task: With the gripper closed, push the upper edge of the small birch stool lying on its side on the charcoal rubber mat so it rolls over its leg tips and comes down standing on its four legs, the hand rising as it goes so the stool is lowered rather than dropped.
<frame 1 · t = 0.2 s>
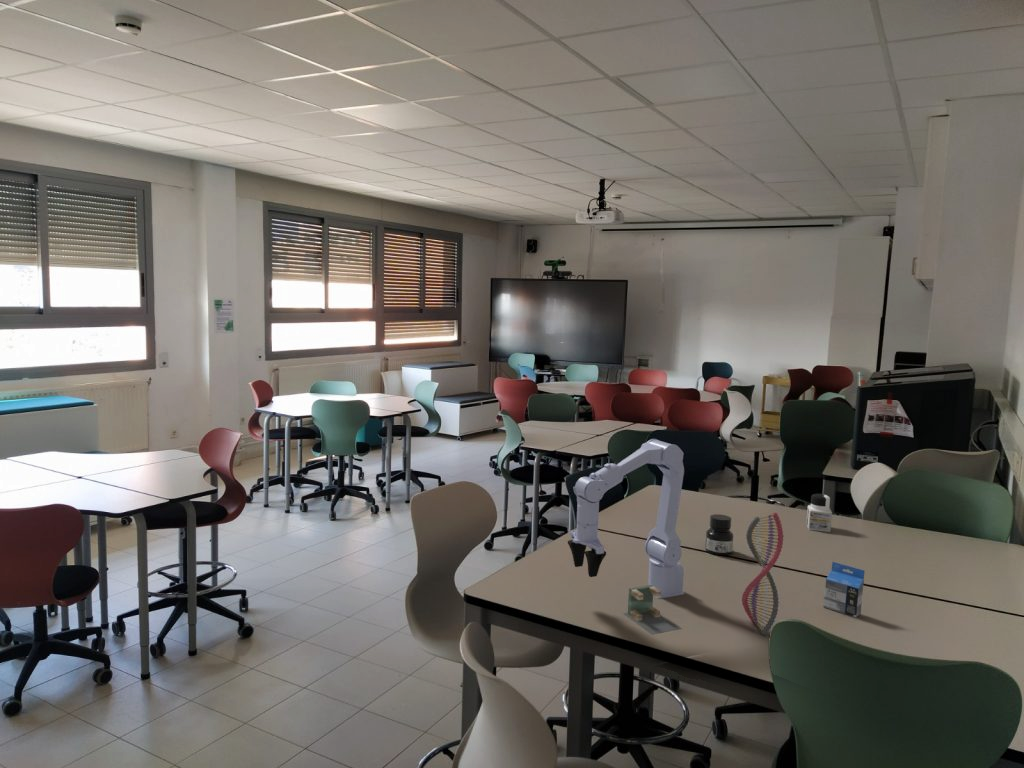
hand: (585, 571, 191), 10 cm above the table, tool pointing down, fingers open, 7 cm apart
stool: (648, 618, 184), resting on mat
dna model: (758, 628, 182), on the table
mat: (651, 621, 183), on the table
ink cartridge box: (841, 611, 194), on the table
container: (818, 528, 269), on the table
ink bottle: (718, 552, 239), on the table
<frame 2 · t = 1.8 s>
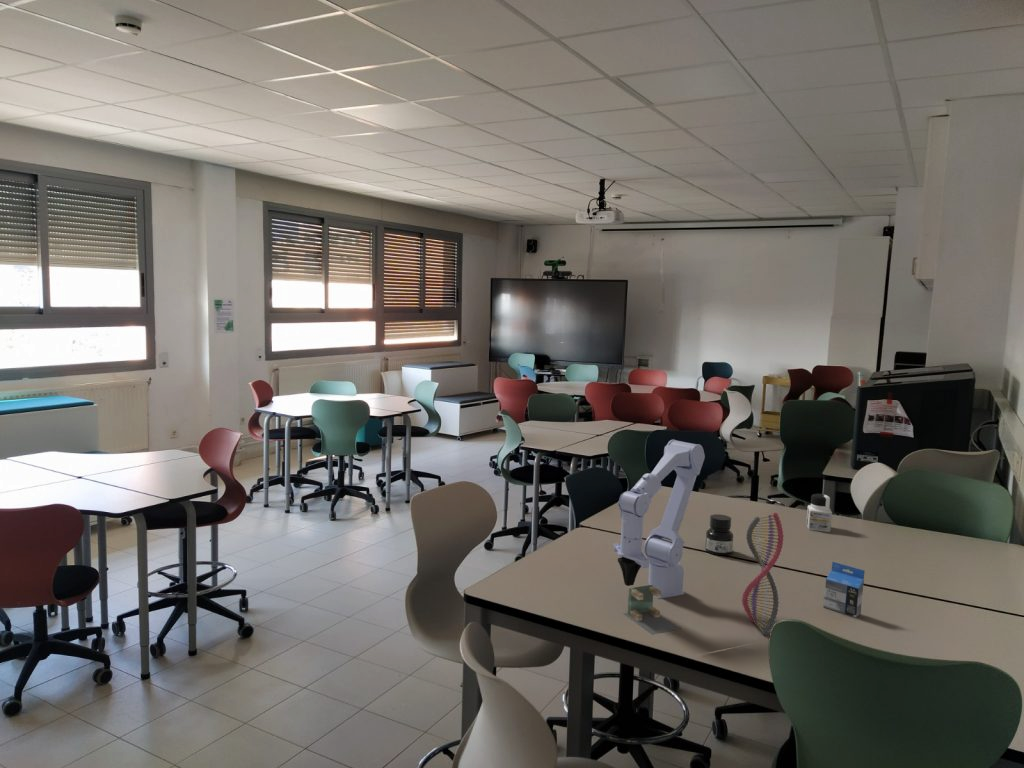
hand: (629, 584, 192), 6 cm above the table, tool pointing down, fingers closed
nothing on the table moved.
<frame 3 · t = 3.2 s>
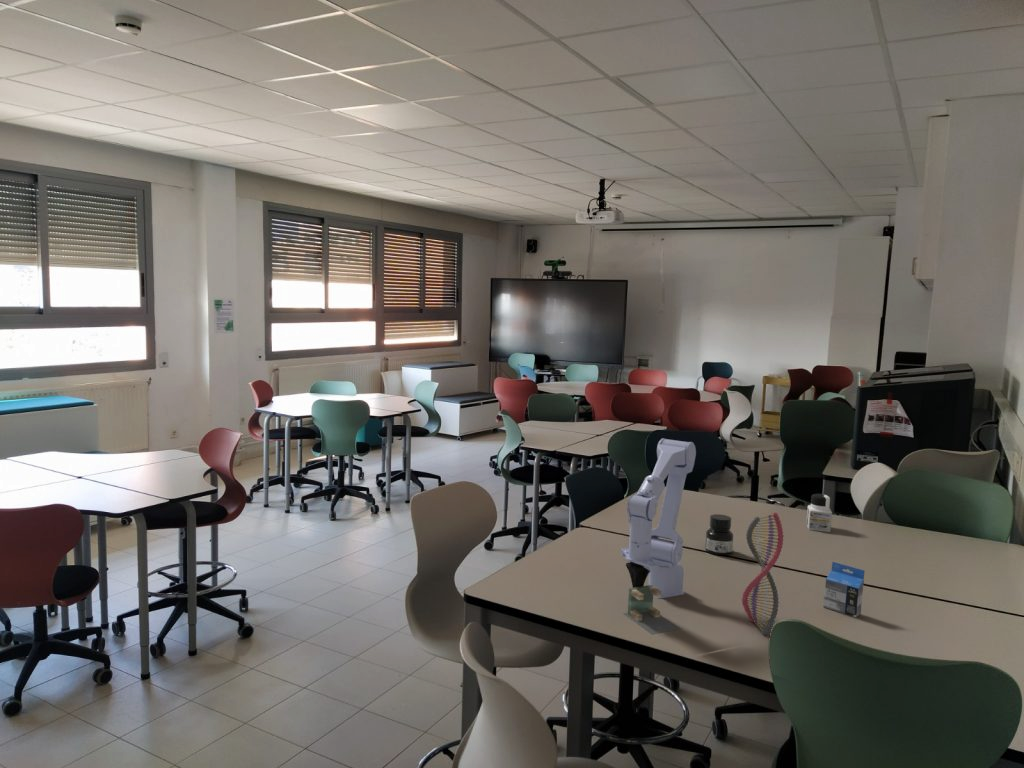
hand: (637, 590, 189), 6 cm above the table, tool pointing down, fingers closed
stool: (648, 618, 184), resting on mat, touching gripper
everything else where it was.
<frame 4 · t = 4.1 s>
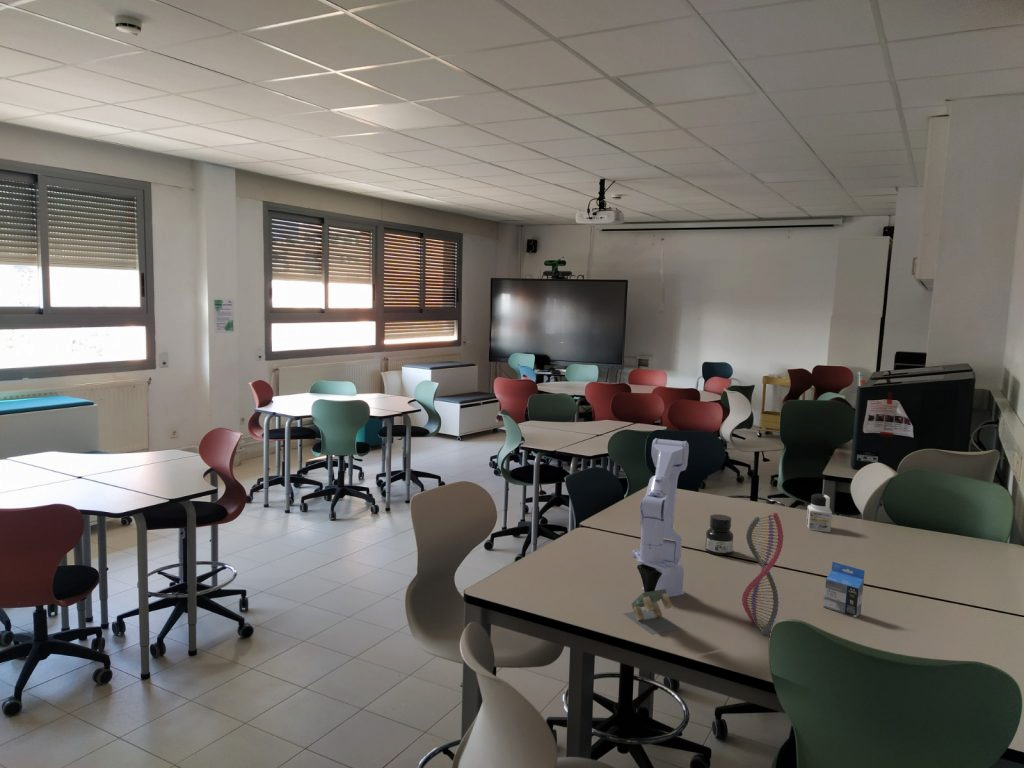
hand: (649, 592, 184), 7 cm above the table, tool pointing down, fingers closed
stool: (648, 618, 184), resting on mat, tilted 44°
everything else where it was.
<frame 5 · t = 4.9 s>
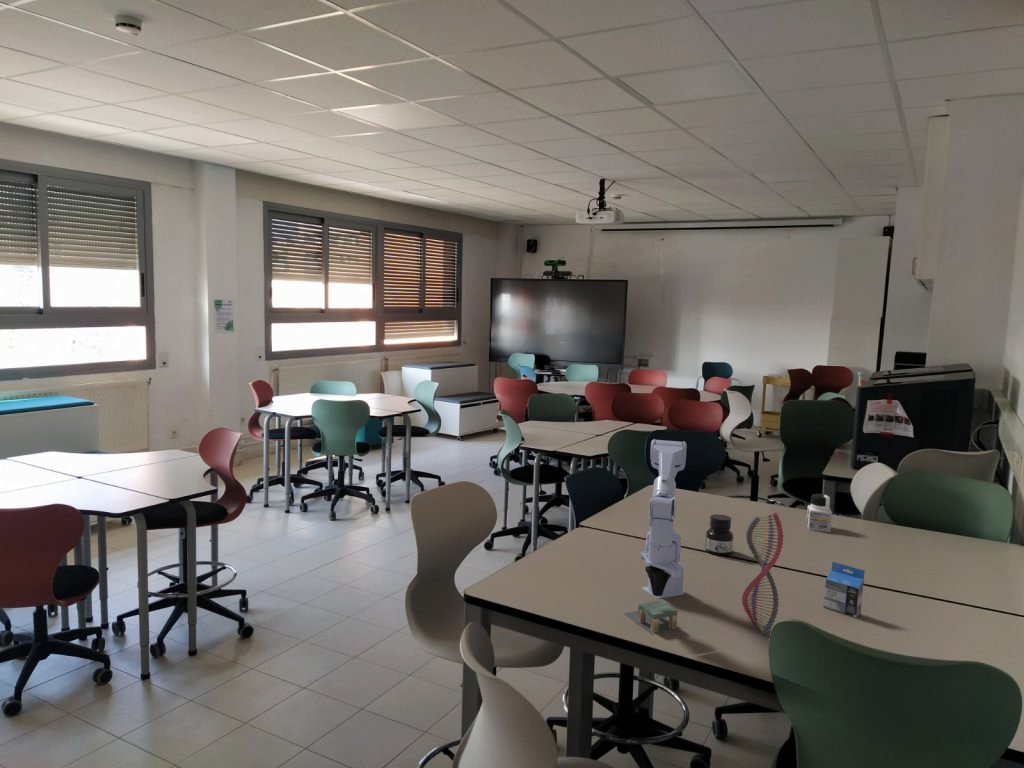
hand: (657, 595, 181), 8 cm above the table, tool pointing down, fingers closed
stool: (648, 618, 184), resting on mat, tilted 90°
everything else where it was.
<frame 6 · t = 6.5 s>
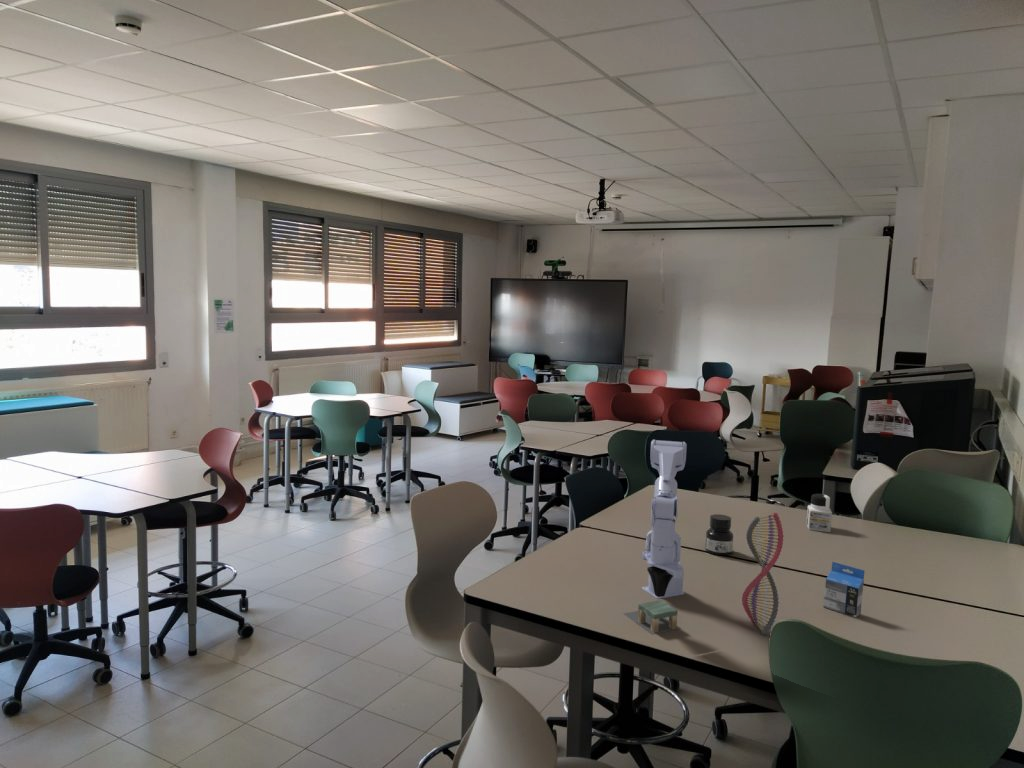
hand: (659, 595, 180), 8 cm above the table, tool pointing down, fingers closed
nothing on the table moved.
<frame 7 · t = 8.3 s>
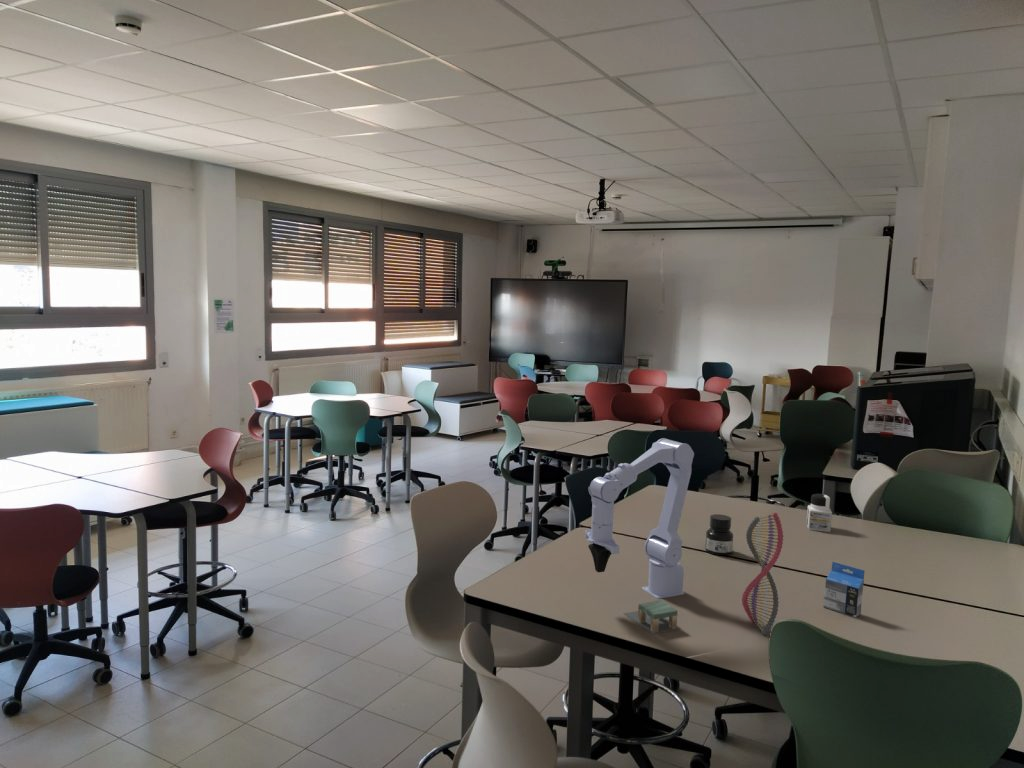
hand: (600, 571, 191), 10 cm above the table, tool pointing down, fingers closed
nothing on the table moved.
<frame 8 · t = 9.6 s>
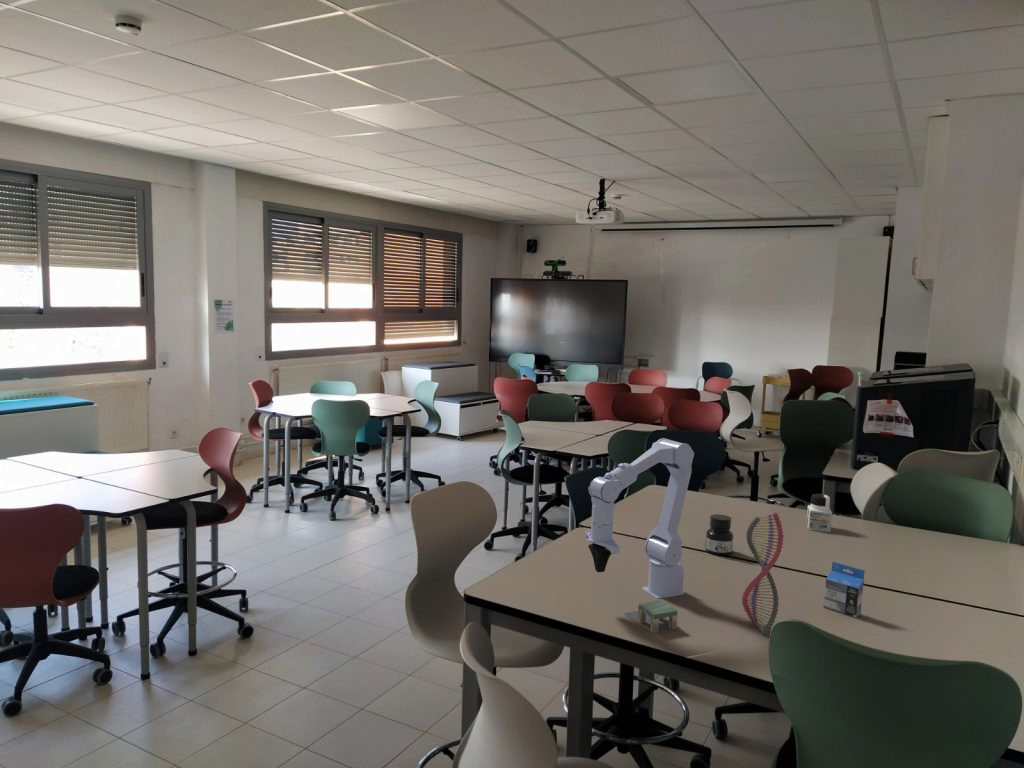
hand: (600, 571, 191), 10 cm above the table, tool pointing down, fingers closed
nothing on the table moved.
at the end: stool tilted 90°; stool inside the target area (2.1 cm from its centre), resting on mat; stool touching mat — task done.
